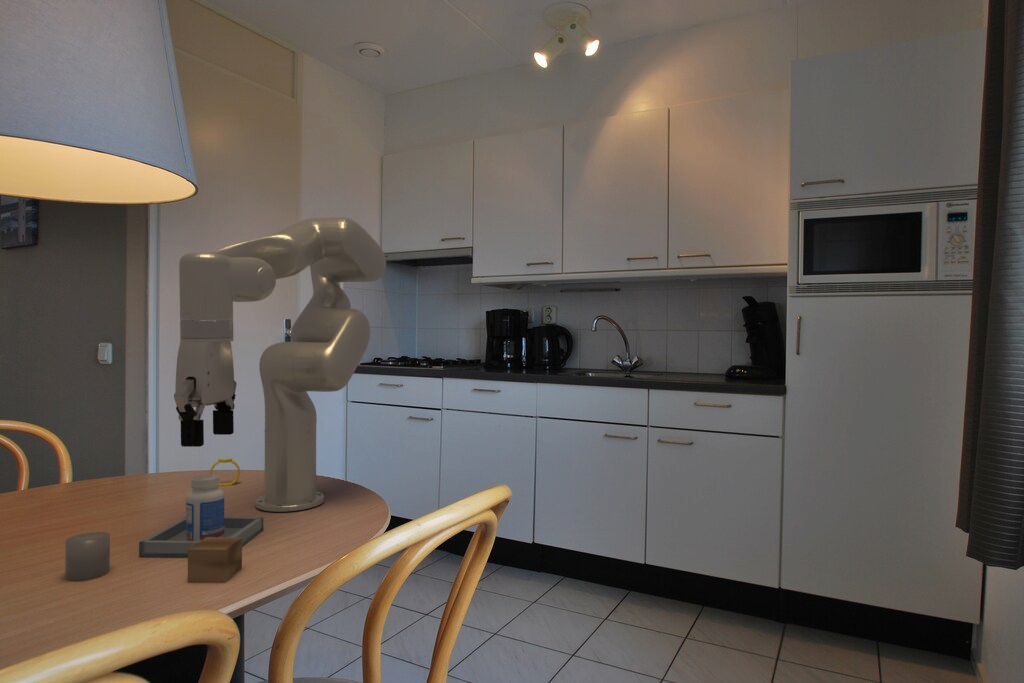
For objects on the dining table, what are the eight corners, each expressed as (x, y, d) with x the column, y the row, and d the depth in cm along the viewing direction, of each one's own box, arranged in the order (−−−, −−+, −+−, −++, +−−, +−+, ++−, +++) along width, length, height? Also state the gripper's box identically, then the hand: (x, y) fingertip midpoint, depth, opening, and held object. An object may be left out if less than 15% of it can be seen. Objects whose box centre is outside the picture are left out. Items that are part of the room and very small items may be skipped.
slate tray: (186, 529, 103) (186, 516, 103) (263, 530, 103) (263, 517, 103) (138, 557, 90) (139, 542, 90) (227, 557, 90) (227, 543, 90)
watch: (238, 483, 137) (241, 457, 137) (238, 486, 134) (241, 459, 134) (209, 484, 134) (211, 457, 135) (208, 487, 132) (210, 459, 132)
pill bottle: (230, 533, 99) (231, 473, 99) (214, 544, 94) (215, 481, 94) (196, 533, 99) (196, 473, 99) (178, 544, 94) (179, 480, 94)
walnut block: (206, 569, 86) (206, 537, 86) (241, 569, 86) (242, 537, 86) (187, 583, 81) (187, 549, 81) (225, 583, 81) (225, 549, 81)
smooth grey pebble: (82, 567, 86) (82, 531, 86) (117, 567, 86) (118, 532, 86) (55, 581, 81) (56, 543, 81) (93, 581, 81) (94, 544, 81)
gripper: (210, 331, 105) (212, 430, 106) (150, 333, 88) (152, 451, 88) (254, 331, 105) (255, 430, 105) (202, 333, 88) (204, 451, 88)
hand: (208, 439), depth 97 cm, fingers open, 9 cm apart
